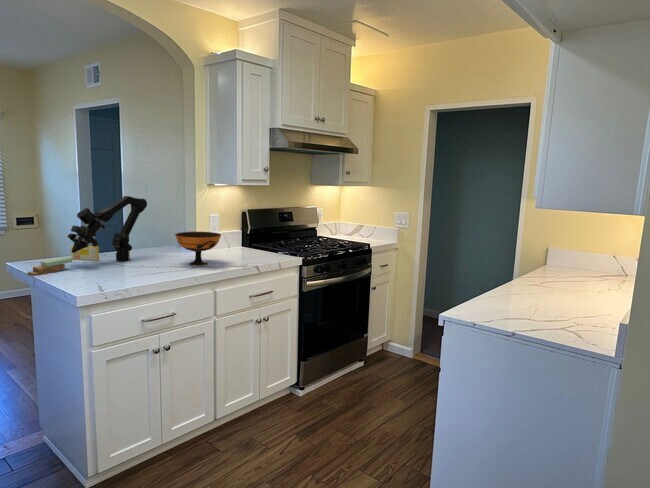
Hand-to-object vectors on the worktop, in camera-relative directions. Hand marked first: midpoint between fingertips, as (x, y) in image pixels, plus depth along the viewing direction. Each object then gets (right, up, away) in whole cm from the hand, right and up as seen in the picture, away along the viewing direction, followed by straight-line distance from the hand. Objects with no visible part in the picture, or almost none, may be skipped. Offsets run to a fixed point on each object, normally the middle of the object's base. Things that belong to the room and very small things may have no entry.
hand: (72, 252), depth 236 cm
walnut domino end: (-4, -9, -6) cm, 12 cm away
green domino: (-2, -4, 0) cm, 4 cm away
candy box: (-6, -5, +25) cm, 26 cm away
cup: (+58, -8, +26) cm, 64 cm away
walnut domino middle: (-3, -7, -4) cm, 8 cm away
